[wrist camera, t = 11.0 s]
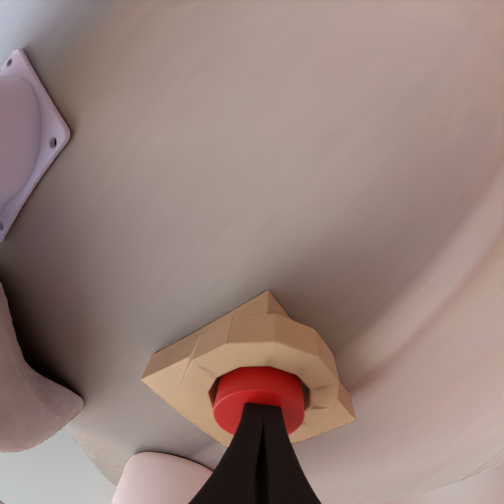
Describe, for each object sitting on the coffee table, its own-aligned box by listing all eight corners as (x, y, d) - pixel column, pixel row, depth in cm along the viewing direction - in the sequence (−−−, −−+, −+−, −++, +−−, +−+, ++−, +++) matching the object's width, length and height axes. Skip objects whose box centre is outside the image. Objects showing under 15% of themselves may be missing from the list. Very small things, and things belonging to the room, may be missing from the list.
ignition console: (245, 433, 18) (240, 479, 14) (143, 345, 16) (116, 394, 12) (368, 384, 16) (382, 435, 12) (282, 262, 13) (284, 312, 9)
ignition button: (251, 419, 13) (248, 448, 11) (202, 377, 12) (193, 407, 10) (316, 394, 12) (320, 424, 10) (272, 344, 11) (271, 376, 9)
